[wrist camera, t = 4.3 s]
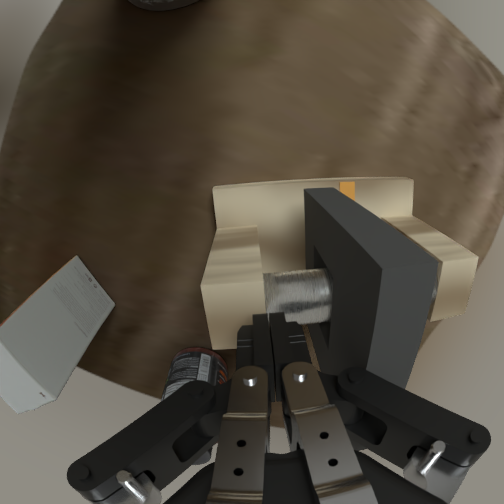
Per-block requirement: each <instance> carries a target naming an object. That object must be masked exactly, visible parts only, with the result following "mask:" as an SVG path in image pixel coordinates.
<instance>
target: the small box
mask: <svg viewBox="0 0 504 504" xmlns="http://www.w3.org/2000/svg"><path fill="white" fill-rule="evenodd" d="M114 307H115V303H114V302H113V301H112V299H111V298H110V297H109V296H108V294H107V293H106V292H105V291H104V290H103V288H102V287H101V286H100V284H99V283H98V282H97V281H96V279H95V278H94V277H93V276H92V274H91V273H90V272H89V270H88V269H87V268H86V267H85V265H84V264H83V263H82V261H81V260H80V259H79V257H78V256H77V255H76V256H75V257H73V258H72V259H71V260H70V261H68V262H67V263H66V264H65V265H64V266H63V267H62V268H60V269H59V270H58V271H57V272H56V273H55V274H53V275H52V276H51V277H50V278H49V279H48V280H47V281H46V282H45V283H44V284H43V285H42V286H40V287H39V288H38V289H37V290H36V291H35V292H34V293H33V294H32V295H31V296H29V297H28V298H27V299H26V300H25V301H24V302H23V303H22V304H21V305H20V306H19V307H18V308H17V309H16V310H15V311H14V312H13V313H12V314H11V315H10V316H9V317H8V318H7V319H6V320H5V321H4V322H3V323H2V324H1V325H0V397H1V398H2V399H3V400H4V401H5V402H6V403H7V404H8V405H9V406H10V407H11V408H12V409H13V410H14V411H15V412H16V413H18V414H20V413H24V412H27V411H30V410H35V409H38V408H40V407H41V406H43V405H46V404H48V403H51V402H53V401H56V400H57V398H58V396H59V395H60V393H61V391H62V389H63V388H64V386H65V384H66V382H67V381H68V379H69V377H70V376H71V374H72V372H73V370H74V369H75V367H76V366H77V364H78V362H79V361H80V359H81V357H82V356H83V354H84V352H85V351H86V349H87V347H88V346H89V344H90V342H91V341H92V339H93V338H94V336H95V335H96V333H97V331H98V330H99V328H100V327H101V325H102V324H103V322H104V321H105V320H106V318H107V317H108V315H109V314H110V312H111V311H112V309H113V308H114Z"/></svg>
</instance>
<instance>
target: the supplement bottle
mask: <svg viewBox="0 0 504 504" xmlns="http://www.w3.org/2000/svg"><path fill="white" fill-rule="evenodd" d="M227 377H228V372H227V366H226V363H225V361H224V360H223V359H222V357H221V356H219V355H218V354H217V353H215V352H213V351H211V350H209V349H206V348H201V347H191V348H187V349H183V350H181V351H180V352H178V353H177V354H176V355H175V357H174V358H173V361H172V363H171V367H170V370H169V373H168V377H167V381H166V384H165V388H164V391H163V395H162V399H161V401H163V400H164V399H165V398H167V397H168V396H169V395H171V394H172V393H173V392H175V391H176V390H177V389H179V388H180V387H181V386H182V385H184V384H185V383H187V382H189V381H193V380H203V381H206V382H208V383H210V384H211V385H212V386H215V385H219V384H222V383H225V382H227V379H228V378H227ZM216 443H218V442H216ZM216 443H215V444H216ZM215 444H214V445H215ZM211 452H212V447H211V448H210V449H209V450H208V451H207V452H206V453H204V454H203V455H202V456H201V457H200V458H199V459H198V460H197V461H196V462H194V463H193V464H192V465H200V464H204V463H206V462H208V461H209V460H210V458H211Z"/></svg>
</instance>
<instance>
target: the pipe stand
mask: <svg viewBox="0 0 504 504" xmlns="http://www.w3.org/2000/svg"><path fill="white" fill-rule="evenodd" d="M413 184H414V180H412V179H409V178H406V177H349V178H320V179H300V180H283V181H268V182H255V183H243V184H232V185H222V186H214V188H213V189H212V190H213V199H214V208H215V216H216V224H217V230H216V234H215V237H214V241H213V244H212V247H211V251H210V254H209V258H208V261H207V265H206V268H205V272H204V275H203V279H202V282H201V291H202V297H203V302H204V308H205V313H206V318H207V323H208V328H209V333H210V338H211V343H212V348H213V350H219V349H237V332H238V331H239V329H240V328H241V326H242V325H253V319H252V314H263V313H268V321H269V313H275V312H284V314H285V319H286V322H291V321H296V322H297V323H298V324H299V325H304V324H313V323H321V322H330V321H331V310H332V293H333V277H332V275H331V273H330V271H329V270H328V268H319V269H308V270H306V260H305V213H304V189H307V188H327V187H334V188H335V189H337V190H338V191H340V192H341V193H343V194H345V195H346V196H348V197H349V198H351V199H352V200H354V201H355V202H357V203H358V204H360V205H361V206H363V207H364V208H366V209H367V210H369V211H370V212H372V213H373V214H375V215H376V216H377V217H379V218H380V219H382V220H383V221H385V222H386V223H388V224H389V225H390V226H392V227H393V228H395V229H396V230H397V231H399V232H400V233H401V234H403V235H404V236H406V237H407V238H408V239H410V240H411V241H412V242H414V243H415V244H416V245H418V246H419V247H420V248H422V249H423V250H424V251H426V252H427V253H428V254H429V255H431V256H432V257H433V258H435V259H436V260H437V261H438V262H439V264H438V270H437V275H436V280H435V285H434V290H433V295H432V299H431V304H430V308H429V312H428V316H427V319H428V320H429V321H430V322H431V321H436V320H440V319H444V318H448V317H452V316H456V315H460V314H464V313H465V310H466V307H467V303H468V300H469V296H470V292H471V288H472V284H473V280H474V276H475V271H476V267H477V262H478V256H476V255H475V254H473V253H472V252H470V251H469V250H467V249H466V248H464V247H463V246H461V245H460V244H458V243H457V242H455V241H453V240H452V239H450V238H449V237H447V236H446V235H444V234H442V233H441V232H439V231H437V230H436V229H434V228H433V227H431V226H429V225H428V224H426V223H424V222H423V221H421V220H419V219H417V218H416V217H414V216H412V205H413Z"/></svg>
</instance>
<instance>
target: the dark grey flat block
mask: <svg viewBox="0 0 504 504" xmlns="http://www.w3.org/2000/svg"><path fill="white" fill-rule="evenodd" d="M304 213H305V260H306V270H308V269H319V268H328V270H329V271H330V273H331V275H332V277H333V293H332V310H331V321H330V322H321V323H313V324H307V325H308V329H309V332H310V336H311V339H312V342H313V346H314V349H315V353H316V356H317V360H318V363H319V367H320V370H321V372H322V373H325V374H330V375H339V374H340V373H341V372H342V371H343V370H344V369H347V368H350V367H360V368H363V369H366V370H367V371H369V372H371V373H373V374H375V375H377V376H379V377H381V378H383V379H385V380H387V381H389V382H391V383H393V384H395V385H397V386H399V387H401V388H403V389H405V387H406V385H407V382H408V379H409V376H410V374H411V371H412V367H413V365H414V362H415V358H416V355H417V352H418V349H419V346H420V342H421V339H422V335H423V332H424V328H425V324H426V320H427V316H428V312H429V308H430V304H431V299H432V295H433V290H434V285H435V280H436V275H437V270H438V264H439V262H438V261H437V260H436V259H435V258H433V257H432V256H431V255H429V254H428V253H427V252H426V251H424V250H423V249H422V248H420V247H419V246H418V245H416V244H415V243H414V242H412V241H411V240H410V239H408V238H407V237H406V236H404V235H403V234H401V233H400V232H399V231H397V230H396V229H395V228H393V227H392V226H390V225H389V224H388V223H386V222H385V221H383V220H382V219H380V218H379V217H377V216H376V215H375V214H373V213H372V212H370V211H369V210H367V209H366V208H364V207H363V206H361V205H360V204H358V203H357V202H355V201H354V200H352V199H351V198H349V197H348V196H346V195H345V194H343V193H341V192H340V191H338V190H337V189H335V188H334V187H327V188H307V189H304ZM349 439H350V442H351V444H352V447H353V449H354V450H356V451H359V450H364V449H367V448H365V447H364V446H362V445H360V444H359V443H357V442H356V441H354V440H352V439H351V438H349Z"/></svg>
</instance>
